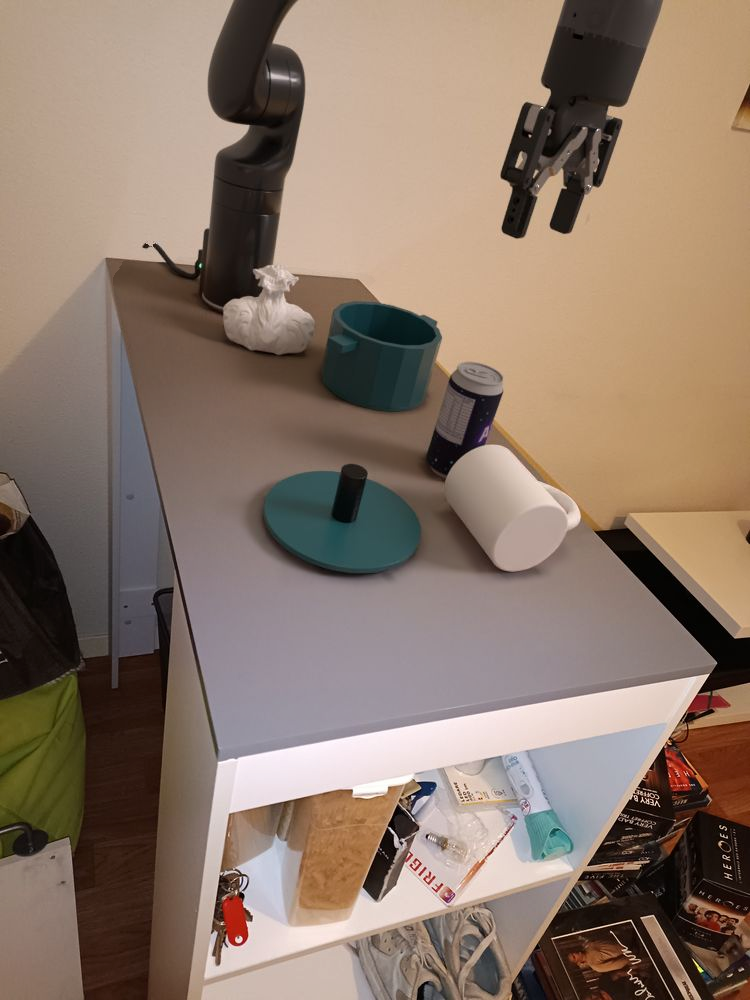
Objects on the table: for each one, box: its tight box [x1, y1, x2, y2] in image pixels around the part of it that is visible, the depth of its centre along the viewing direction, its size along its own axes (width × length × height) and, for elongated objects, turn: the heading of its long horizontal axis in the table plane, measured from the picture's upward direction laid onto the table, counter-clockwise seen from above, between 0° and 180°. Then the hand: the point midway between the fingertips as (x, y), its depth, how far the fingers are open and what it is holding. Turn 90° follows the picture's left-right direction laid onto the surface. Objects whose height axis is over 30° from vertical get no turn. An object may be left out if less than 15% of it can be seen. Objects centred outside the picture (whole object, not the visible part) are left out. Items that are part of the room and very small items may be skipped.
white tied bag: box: [222, 263, 316, 356], centre depth 96 cm, size 12×8×11 cm
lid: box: [262, 463, 422, 574], centre depth 67 cm, size 15×15×6 cm
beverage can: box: [425, 361, 504, 480], centre depth 78 cm, size 6×6×12 cm
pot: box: [321, 300, 443, 412], centre depth 93 cm, size 14×19×8 cm
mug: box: [443, 444, 582, 573], centre depth 71 cm, size 12×10×8 cm
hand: (536, 233), depth 69 cm, fingers open, 8 cm apart
